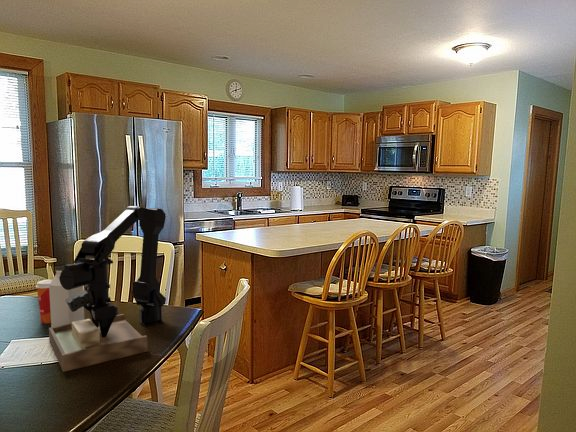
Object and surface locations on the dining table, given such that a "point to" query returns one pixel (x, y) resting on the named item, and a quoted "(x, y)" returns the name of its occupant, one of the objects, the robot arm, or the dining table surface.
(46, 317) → the paper cup
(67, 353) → the open tray box
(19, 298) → the dining table surface
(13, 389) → the dining table surface
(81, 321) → the cream rectangular block
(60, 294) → the milk carton
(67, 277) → the robot arm
